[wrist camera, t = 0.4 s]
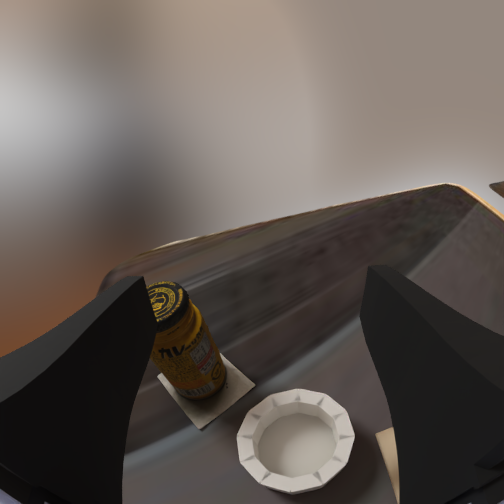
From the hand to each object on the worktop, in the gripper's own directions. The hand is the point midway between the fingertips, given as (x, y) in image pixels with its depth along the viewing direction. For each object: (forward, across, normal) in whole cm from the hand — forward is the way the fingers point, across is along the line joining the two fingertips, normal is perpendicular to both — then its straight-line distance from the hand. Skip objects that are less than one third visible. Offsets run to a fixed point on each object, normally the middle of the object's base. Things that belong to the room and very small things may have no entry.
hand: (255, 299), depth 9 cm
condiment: (+11, +7, +20) cm, 23 cm away
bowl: (+3, -2, +20) cm, 20 cm away
